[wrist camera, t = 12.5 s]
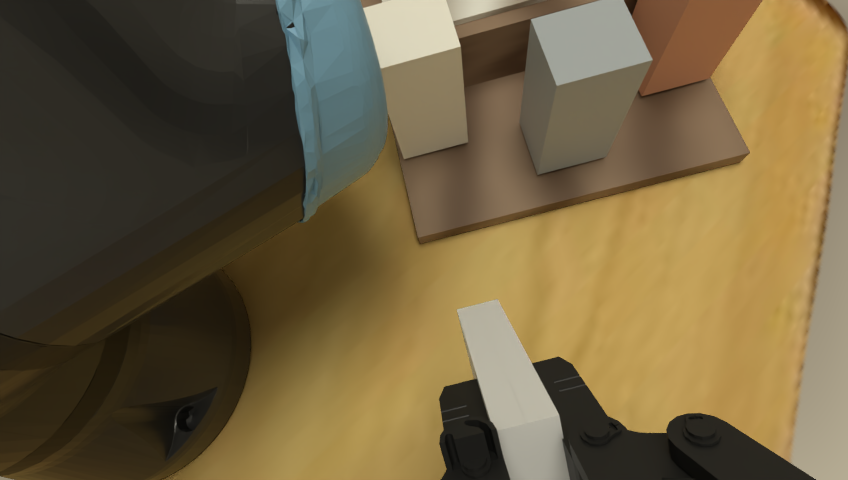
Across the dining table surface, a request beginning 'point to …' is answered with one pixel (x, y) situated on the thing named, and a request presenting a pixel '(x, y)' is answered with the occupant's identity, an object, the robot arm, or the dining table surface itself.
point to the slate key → (580, 82)
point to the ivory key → (420, 73)
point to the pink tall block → (688, 38)
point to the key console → (506, 146)
